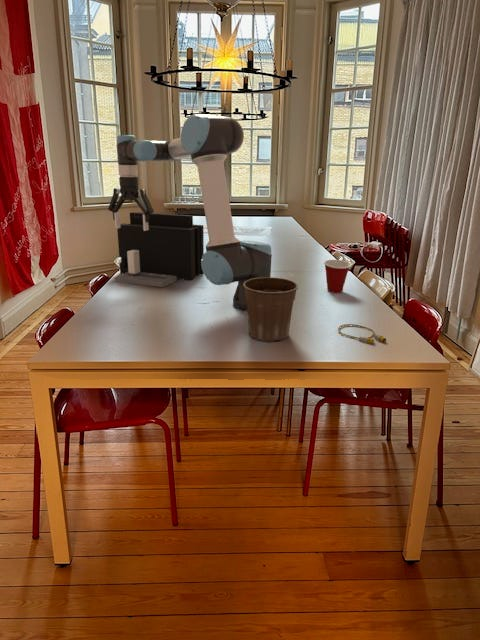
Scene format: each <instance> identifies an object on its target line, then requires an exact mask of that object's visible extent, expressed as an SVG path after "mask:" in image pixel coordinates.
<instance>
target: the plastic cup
mask: <svg viewBox="0 0 480 640" xmlns="http://www.w3.org/2000/svg"><path fill="white" fill-rule="evenodd" d="M323 264H324V268H325V269H324V270H325V277H326V278H325V280H326V287H327V288H326V289H327V292H328V293H332V294H341V293H342V292H343V290H344V286H345V283H346V279H347V276H348V273H349V270H350V268H351V266H352V264H351V262H348V261H345V260H340V259H327V260H324V261H323Z"/></svg>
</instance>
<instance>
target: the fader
mask: <svg viewBox="0 0 480 640" xmlns="http://www.w3.org/2000/svg"><path fill="white" fill-rule="evenodd" d="M127 257H128V272H129V273H128V275H132V276H134V275H137V274H139V273H141V271H140V260H139V250H131V251H127Z"/></svg>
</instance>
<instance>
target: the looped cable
mask: <svg viewBox="0 0 480 640" xmlns="http://www.w3.org/2000/svg"><path fill="white" fill-rule="evenodd" d="M350 325H352V326H360V327H359V328H361V327H363V329H364V328H366V330H367V329H368V331H370V330H371V332H372V331H373V332H372V335H370V336H368V337H366V336H359V337H357V336H353V335H349V334H347V333H344V332H341V328H340V327H342V326H347V327H351V326H350ZM339 329H340V330H339ZM338 331H339V332H338ZM337 332H338V334H339V335H340V334H341V335H340V336H342V337H344V336H346V337H345V338H348V337H350V338H349V339H355V338H357V339H358V341H360V342H362V341H363V343H365V342H366V344H369V343H370V344H369V345H373V344H374V343H375V340H377V341H378V342H381V343H386V342H387V338H386V337H384V336H383V335H381V334H377V333H375V330H374V329H371V328H369V327H367V326H363V325H359V324H353V323H345V324H342V325H340V326H339V327H338V330H337ZM373 338H375V339H373ZM383 341H384V342H383Z"/></svg>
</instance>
